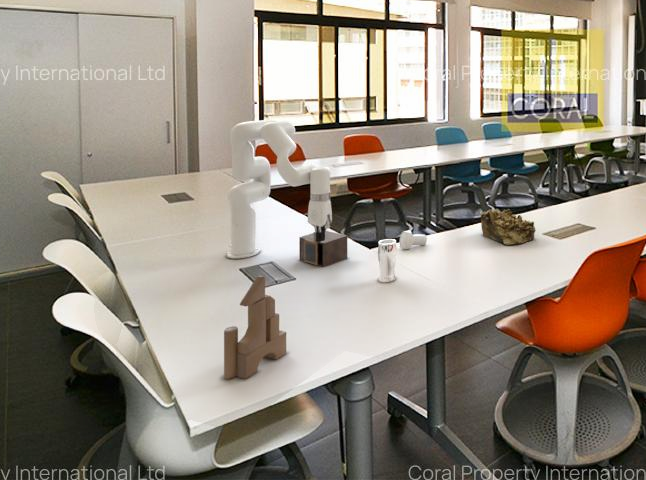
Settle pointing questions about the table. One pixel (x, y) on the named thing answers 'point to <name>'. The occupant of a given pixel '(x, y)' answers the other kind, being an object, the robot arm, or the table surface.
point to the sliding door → (311, 251)
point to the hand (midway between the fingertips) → (320, 240)
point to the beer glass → (387, 259)
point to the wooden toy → (254, 335)
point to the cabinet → (327, 248)
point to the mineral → (506, 227)
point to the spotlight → (411, 239)
